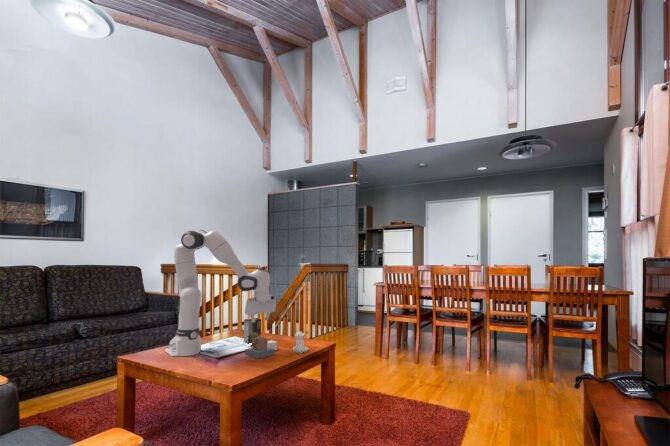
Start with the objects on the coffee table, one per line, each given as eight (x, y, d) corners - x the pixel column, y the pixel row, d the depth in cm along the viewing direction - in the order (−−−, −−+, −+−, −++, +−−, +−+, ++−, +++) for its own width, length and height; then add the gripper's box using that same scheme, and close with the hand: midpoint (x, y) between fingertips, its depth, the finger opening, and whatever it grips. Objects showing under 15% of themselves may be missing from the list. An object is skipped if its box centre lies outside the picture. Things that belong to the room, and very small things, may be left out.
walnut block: (252, 348, 215) (252, 338, 215) (260, 346, 220) (260, 336, 220) (258, 350, 211) (259, 340, 212) (267, 348, 216) (267, 338, 216)
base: (244, 354, 214) (244, 349, 215) (261, 350, 224) (261, 345, 224) (258, 358, 207) (258, 352, 207) (274, 354, 216) (274, 348, 216)
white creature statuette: (308, 350, 226) (309, 330, 227) (307, 354, 218) (307, 333, 219) (293, 350, 227) (293, 329, 227) (291, 353, 218) (291, 332, 219)
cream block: (264, 350, 225) (265, 341, 225) (271, 348, 229) (271, 340, 229) (270, 351, 222) (270, 343, 222) (276, 350, 226) (276, 341, 226)
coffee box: (256, 342, 242) (256, 317, 243) (260, 344, 237) (261, 319, 239) (243, 345, 236) (243, 319, 238) (247, 347, 232) (248, 320, 233)
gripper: (250, 298, 208) (249, 324, 207) (277, 296, 223) (276, 320, 222) (243, 297, 212) (242, 322, 211) (271, 295, 227) (269, 318, 226)
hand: (260, 321), depth 217 cm, fingers open, 8 cm apart
